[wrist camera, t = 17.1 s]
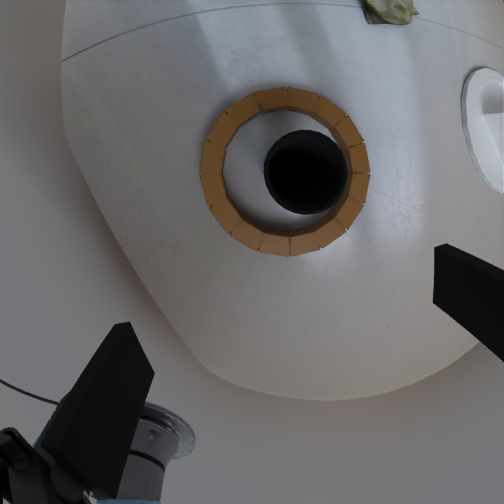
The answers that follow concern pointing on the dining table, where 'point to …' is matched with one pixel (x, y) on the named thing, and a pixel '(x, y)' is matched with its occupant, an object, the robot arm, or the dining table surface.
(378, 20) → the fruit
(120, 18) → the dining table surface
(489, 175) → the dish
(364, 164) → the orange-brown segmented ring
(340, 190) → the cup
